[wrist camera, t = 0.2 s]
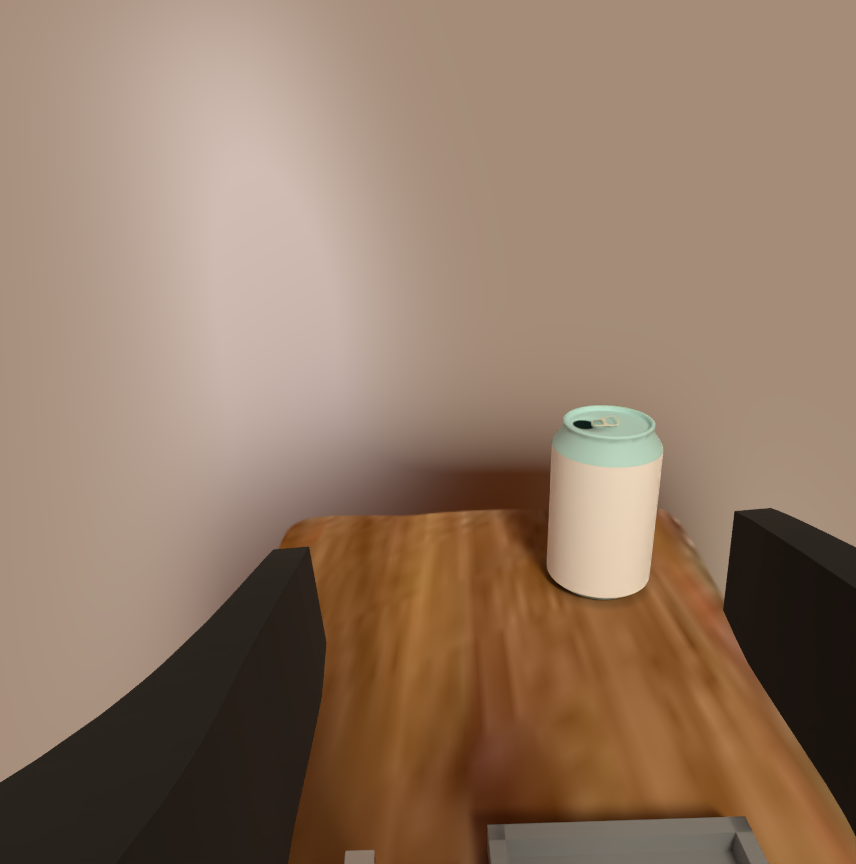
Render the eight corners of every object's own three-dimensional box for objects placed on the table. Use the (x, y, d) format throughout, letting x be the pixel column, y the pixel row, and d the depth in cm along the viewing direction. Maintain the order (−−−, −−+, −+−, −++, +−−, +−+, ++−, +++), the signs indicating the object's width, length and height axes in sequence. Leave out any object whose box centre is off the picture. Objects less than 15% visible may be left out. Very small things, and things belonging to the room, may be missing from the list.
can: (599, 620, 43) (613, 449, 39) (525, 570, 49) (530, 415, 44) (669, 582, 47) (690, 422, 42) (594, 540, 52) (605, 394, 48)
